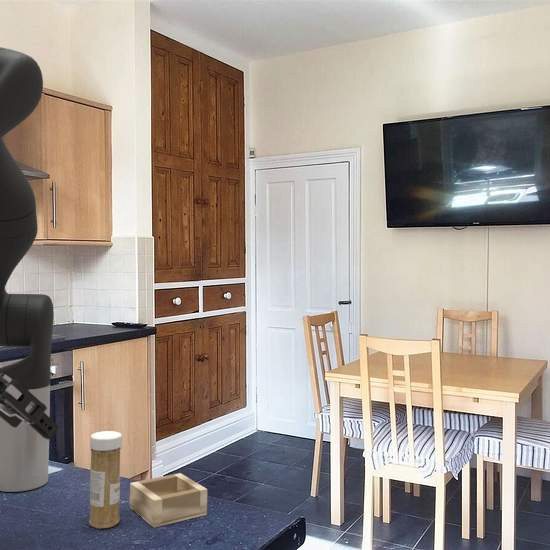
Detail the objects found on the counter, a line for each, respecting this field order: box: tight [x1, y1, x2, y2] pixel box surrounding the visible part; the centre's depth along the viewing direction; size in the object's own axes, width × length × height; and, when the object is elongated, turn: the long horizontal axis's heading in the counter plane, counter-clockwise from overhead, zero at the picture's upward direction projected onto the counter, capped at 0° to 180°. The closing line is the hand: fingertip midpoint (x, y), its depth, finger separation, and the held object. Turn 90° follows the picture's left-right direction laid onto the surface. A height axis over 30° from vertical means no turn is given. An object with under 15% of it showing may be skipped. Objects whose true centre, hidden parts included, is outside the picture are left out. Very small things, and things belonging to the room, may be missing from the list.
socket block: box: [129, 472, 208, 529], centre depth 98 cm, size 9×9×4 cm
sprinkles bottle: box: [88, 430, 123, 529], centre depth 93 cm, size 5×5×14 cm
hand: (35, 427), depth 84 cm, fingers open, 8 cm apart
